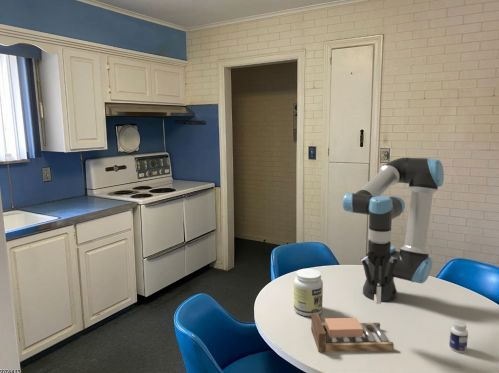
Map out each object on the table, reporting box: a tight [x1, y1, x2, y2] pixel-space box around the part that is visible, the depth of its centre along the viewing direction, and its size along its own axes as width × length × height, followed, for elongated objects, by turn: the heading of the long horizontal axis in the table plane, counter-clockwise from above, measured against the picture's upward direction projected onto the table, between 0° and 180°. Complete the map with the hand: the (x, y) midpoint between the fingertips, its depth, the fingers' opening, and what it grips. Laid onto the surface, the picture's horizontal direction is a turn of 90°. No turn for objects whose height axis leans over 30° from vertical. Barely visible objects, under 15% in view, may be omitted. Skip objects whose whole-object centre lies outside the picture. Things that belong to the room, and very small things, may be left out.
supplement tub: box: [293, 268, 324, 317], centre depth 162 cm, size 12×12×17 cm
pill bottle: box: [448, 320, 469, 354], centre depth 133 cm, size 5×5×10 cm
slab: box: [324, 317, 364, 339], centre depth 140 cm, size 12×8×3 cm, turn 91°
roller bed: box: [324, 322, 389, 343], centre depth 140 cm, size 11×20×2 cm, turn 91°
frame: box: [310, 313, 395, 353], centre depth 140 cm, size 26×14×7 cm, turn 91°
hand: (377, 301), depth 139 cm, fingers closed
